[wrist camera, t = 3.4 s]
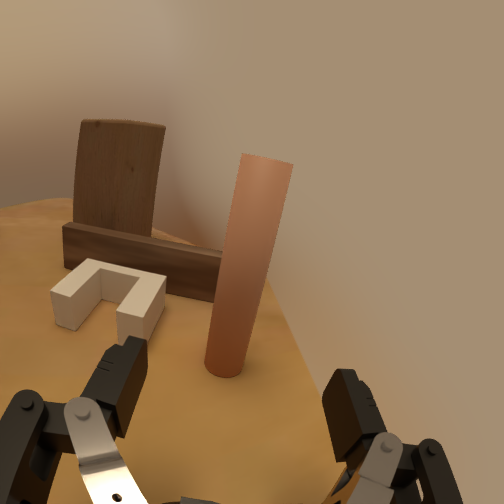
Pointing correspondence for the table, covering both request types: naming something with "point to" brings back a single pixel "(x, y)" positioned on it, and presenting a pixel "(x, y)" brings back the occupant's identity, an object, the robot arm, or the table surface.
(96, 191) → the wooden block
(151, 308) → the notched block
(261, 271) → the dowel
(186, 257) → the wall
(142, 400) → the table surface
